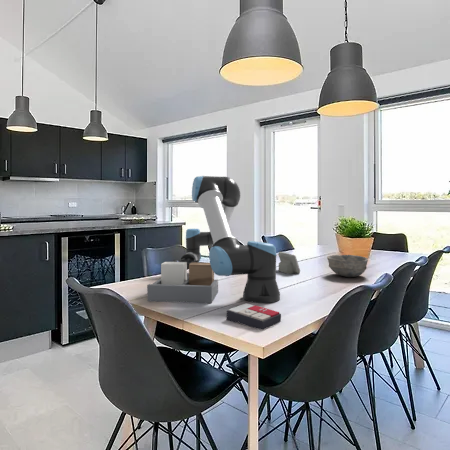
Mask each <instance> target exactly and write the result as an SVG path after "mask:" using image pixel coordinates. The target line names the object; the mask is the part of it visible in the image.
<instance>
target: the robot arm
mask: <svg viewBox="0 0 450 450" xmlns="http://www.w3.org/2000/svg"><path fill="white" fill-rule="evenodd" d="M191 199H192V201H193V202H195V203H196V202H197V204H198V206H199V207H200V208H202V209H203V212H204V215H205V218H206V222H207V225H208V229H209V231H200V229H199V228H187V229H186V231H185V254H183V255H182V256H181V258H180V259H179V260H177V259H173V260H172V262H187V270H189V264H190V263H192V262H200V260H201V259H202V254H201V252H200V251H201V247H202V246H203V247H204V246H205V247H207V246H211V247H210V250H209V253H208V258H209V263H210V265H211V268H212V270H213V272H214V275H216V276H219V277H223V276H224V277H230V276H239V275H247V279H246V283H245V286H244V289H243V293H242V299H243V300H245V301H247V302H250V303H256V304H257V303H258V304H269V303H274V302H278V301H280V300H281V293H280V289H279V285H278V283H277V255H278V254H277V248H276V246H275V244H272V243H269V242H262V241H251V240H249V241H248V240H247V243H246V244H244V245H241V244H240V241H239V240H238V238H237V237H236V236H235V237H234V235H233V232H232V229H231V226H230V223H229V222H230V220H231V217H232V214H233V212H234V209H235V207H237V206H238V204H239V203H240V200H241V190H240V187H239V185H238V183H237V182H236V181H235V180H234V179H232V178H231V177H229V176H211V175H210V176H208V175H206V176H205V175H199V176H196V177H194V179H193V181H192V187H191Z"/></svg>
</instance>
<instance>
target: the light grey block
mask: <svg viewBox="0 0 450 450" xmlns="http://www.w3.org/2000/svg"><path fill="white" fill-rule="evenodd" d="M187 270H188V269H187V262H173V261H164V262H162V263H160V277H161V284H166V285H181V284H182V283H184V282H185V281H186V280H187V279H188V271H187Z"/></svg>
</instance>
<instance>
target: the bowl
mask: <svg viewBox="0 0 450 450" xmlns="http://www.w3.org/2000/svg"><path fill="white" fill-rule="evenodd" d="M326 259H327V260H328V267H329V269H331V271H332V272H333V273H335V275H338V276H341V277H345V278H357V277H358V276H361V275H363V274H364V273H365V271H366V270H367V265H368V261H369V258H367V257H366V256H365V257H364V256H361V255H352V254H342V255H340V254H332V255H328V256H327V257H326Z"/></svg>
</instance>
